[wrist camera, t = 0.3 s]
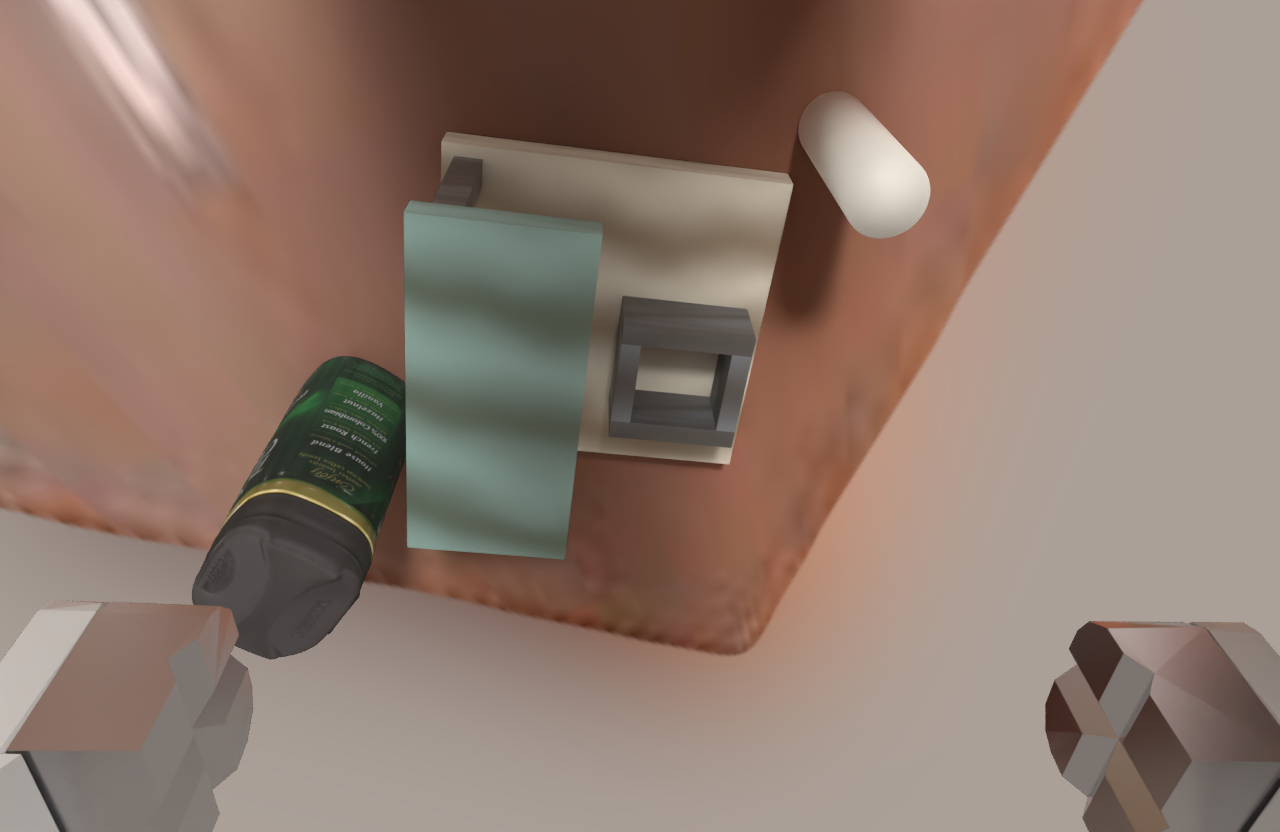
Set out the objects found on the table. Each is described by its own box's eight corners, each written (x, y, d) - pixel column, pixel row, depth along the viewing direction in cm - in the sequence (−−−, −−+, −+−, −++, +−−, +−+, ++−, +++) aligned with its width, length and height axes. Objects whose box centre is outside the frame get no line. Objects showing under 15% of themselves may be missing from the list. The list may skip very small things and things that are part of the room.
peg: (807, 86, 51) (856, 149, 41) (875, 95, 51) (941, 160, 41) (791, 156, 53) (834, 233, 43) (857, 165, 53) (915, 242, 43)
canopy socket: (446, 131, 51) (403, 212, 40) (787, 173, 53) (834, 261, 42) (442, 421, 62) (407, 547, 51) (725, 447, 64) (750, 574, 53)
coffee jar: (332, 332, 58) (232, 515, 43) (440, 392, 61) (382, 585, 45) (269, 433, 62) (156, 633, 47) (372, 485, 65) (298, 691, 49)
